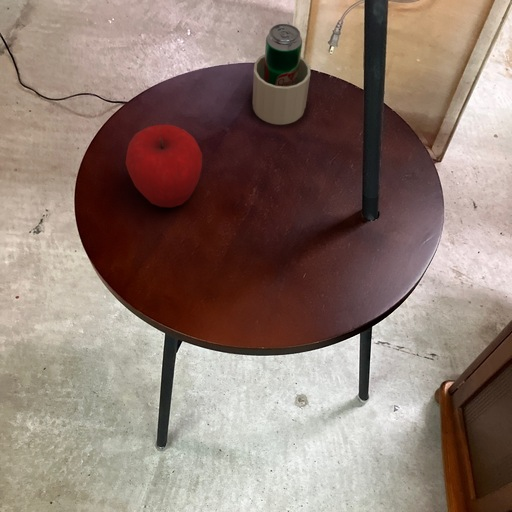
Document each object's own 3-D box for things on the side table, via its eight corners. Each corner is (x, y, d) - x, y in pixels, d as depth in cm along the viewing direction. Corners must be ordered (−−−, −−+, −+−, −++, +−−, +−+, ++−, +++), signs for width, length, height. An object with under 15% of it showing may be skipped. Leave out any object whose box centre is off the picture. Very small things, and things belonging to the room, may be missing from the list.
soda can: (274, 117, 83) (280, 49, 73) (255, 97, 86) (259, 29, 75) (301, 104, 85) (310, 37, 75) (282, 86, 87) (288, 17, 77)
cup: (305, 90, 88) (310, 52, 82) (304, 126, 84) (310, 89, 78) (254, 86, 88) (255, 49, 82) (251, 122, 84) (252, 86, 78)
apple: (214, 211, 74) (212, 155, 65) (145, 231, 72) (132, 176, 63) (191, 159, 79) (186, 101, 70) (126, 176, 77) (112, 118, 68)
